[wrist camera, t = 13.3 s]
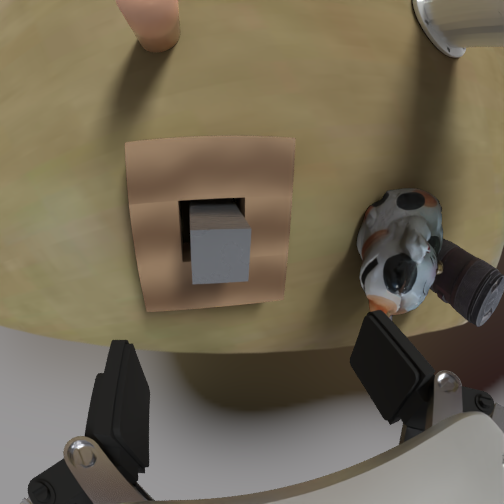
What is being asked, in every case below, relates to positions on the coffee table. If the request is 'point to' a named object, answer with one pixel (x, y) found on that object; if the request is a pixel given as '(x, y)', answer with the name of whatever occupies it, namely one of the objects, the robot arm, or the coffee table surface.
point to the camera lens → (468, 283)
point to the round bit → (153, 22)
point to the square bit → (218, 242)
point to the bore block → (209, 187)
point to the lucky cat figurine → (400, 250)
